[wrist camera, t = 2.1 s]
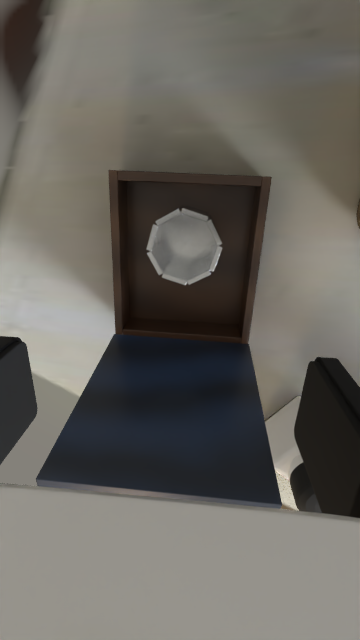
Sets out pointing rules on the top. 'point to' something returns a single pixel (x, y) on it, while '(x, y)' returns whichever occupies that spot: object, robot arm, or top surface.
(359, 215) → the canister
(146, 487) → the lid
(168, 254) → the grey octagonal hollow piece
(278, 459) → the medicine bottle
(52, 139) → the top surface
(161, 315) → the brown tray
